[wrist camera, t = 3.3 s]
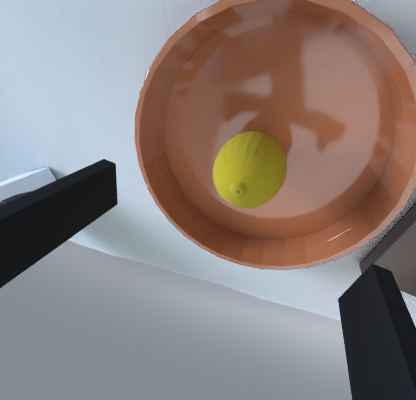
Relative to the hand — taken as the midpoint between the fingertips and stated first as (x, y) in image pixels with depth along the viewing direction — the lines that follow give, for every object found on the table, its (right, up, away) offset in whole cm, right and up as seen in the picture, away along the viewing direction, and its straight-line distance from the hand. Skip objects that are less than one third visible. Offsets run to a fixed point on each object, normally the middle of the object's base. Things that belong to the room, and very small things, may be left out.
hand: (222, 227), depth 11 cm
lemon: (+4, +6, +9) cm, 12 cm away
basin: (+4, +6, +10) cm, 12 cm away
